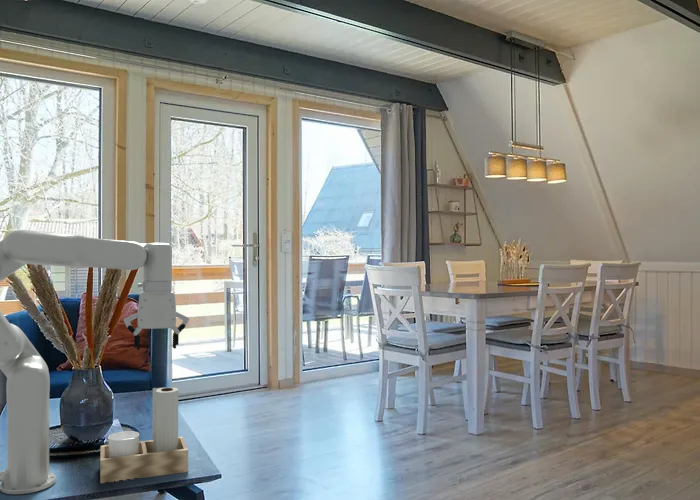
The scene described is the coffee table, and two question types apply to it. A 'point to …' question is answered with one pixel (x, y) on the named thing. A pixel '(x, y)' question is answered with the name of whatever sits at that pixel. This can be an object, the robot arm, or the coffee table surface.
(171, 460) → the wooden caddy
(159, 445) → the paper towel roll
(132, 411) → the coffee table surface
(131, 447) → the white cup
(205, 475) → the coffee table surface
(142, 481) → the coffee table surface
